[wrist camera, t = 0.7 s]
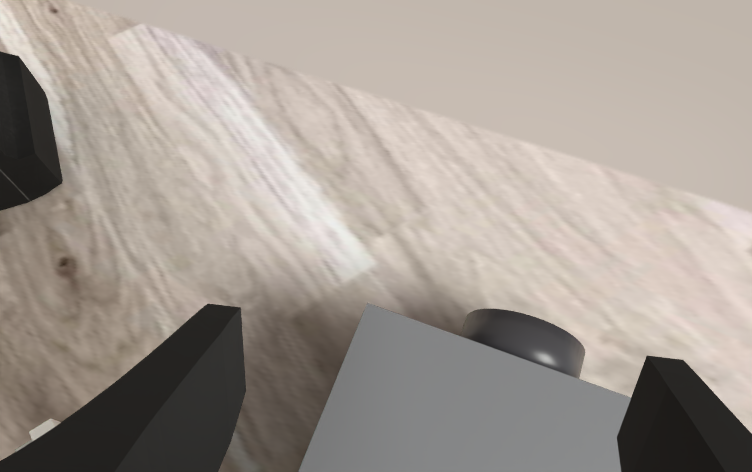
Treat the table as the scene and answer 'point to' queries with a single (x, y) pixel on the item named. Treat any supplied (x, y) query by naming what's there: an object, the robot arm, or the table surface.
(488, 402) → the camera housing
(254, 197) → the table surface
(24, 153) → the portable radio
